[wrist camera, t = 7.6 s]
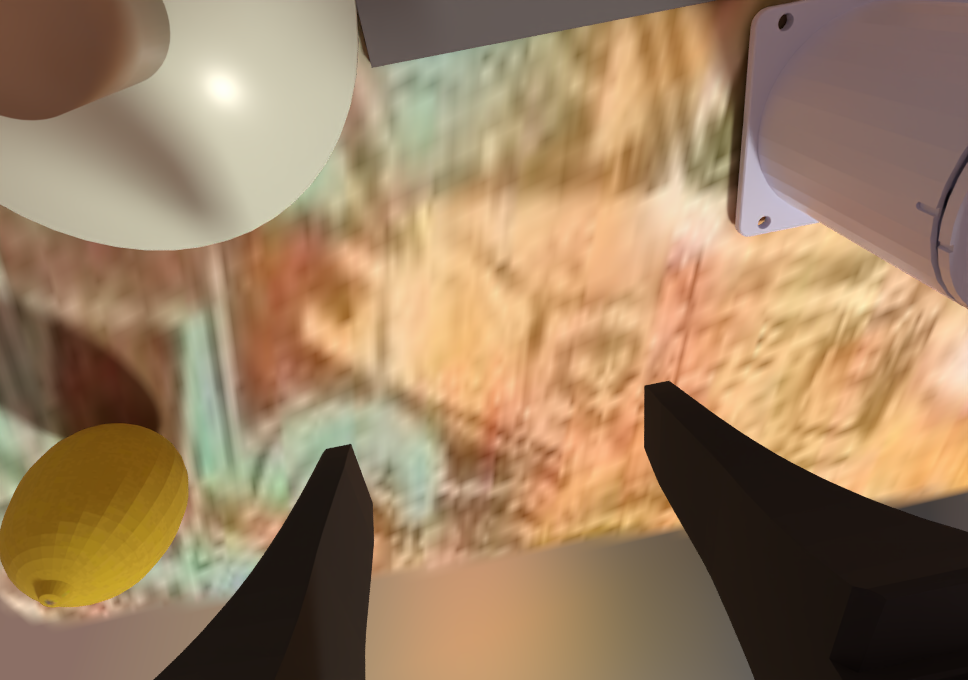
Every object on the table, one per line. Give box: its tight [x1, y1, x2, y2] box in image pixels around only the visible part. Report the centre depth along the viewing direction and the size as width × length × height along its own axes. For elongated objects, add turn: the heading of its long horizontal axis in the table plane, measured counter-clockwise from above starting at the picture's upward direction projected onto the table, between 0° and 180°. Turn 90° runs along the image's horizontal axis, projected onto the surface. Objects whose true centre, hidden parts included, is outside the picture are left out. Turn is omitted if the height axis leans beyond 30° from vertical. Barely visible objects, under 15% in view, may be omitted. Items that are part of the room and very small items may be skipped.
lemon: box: [0, 423, 188, 607], centre depth 22 cm, size 6×6×8 cm
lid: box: [0, 0, 359, 250], centre depth 12 cm, size 12×12×5 cm
